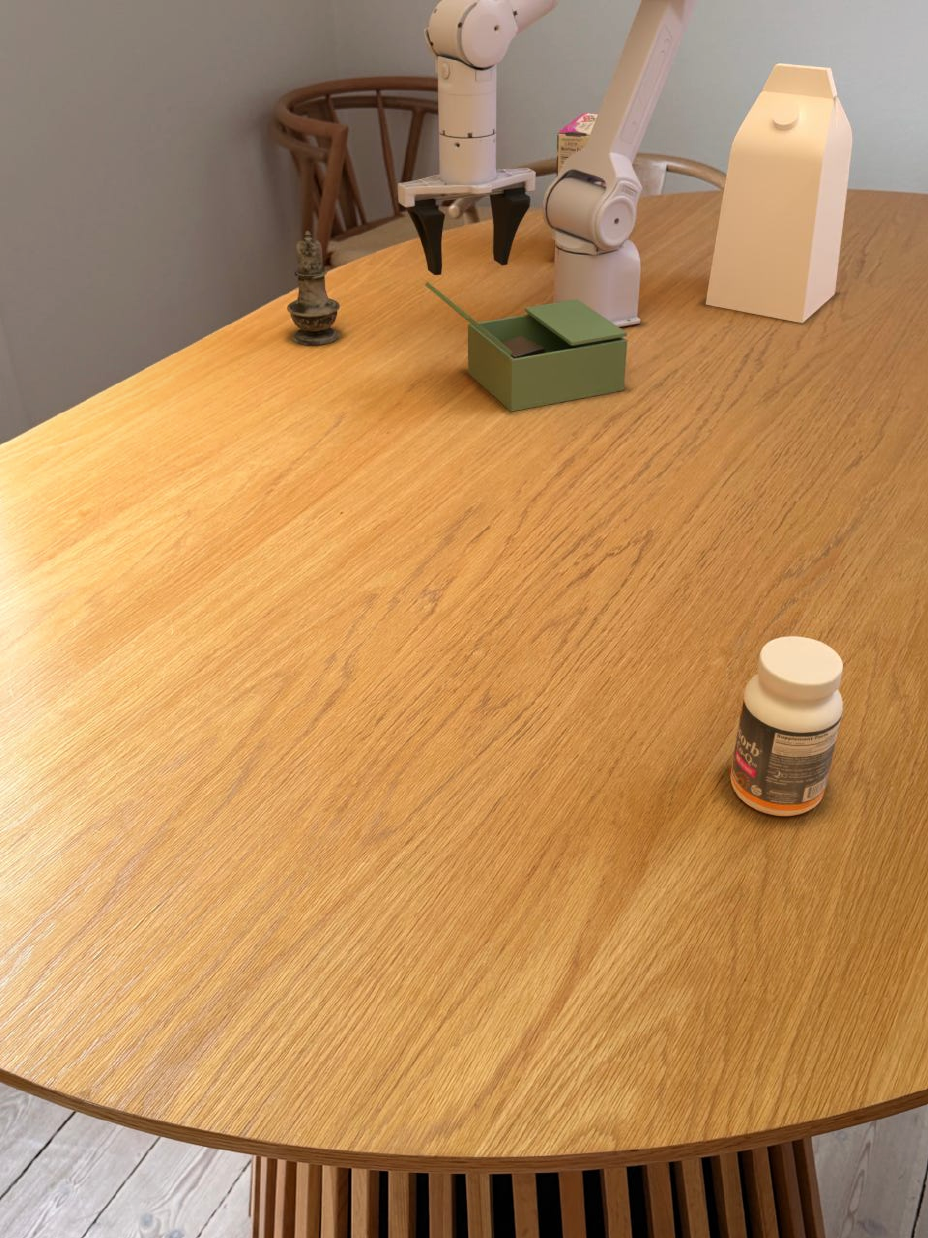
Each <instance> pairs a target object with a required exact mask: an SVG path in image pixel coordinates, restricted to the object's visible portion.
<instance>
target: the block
mask: <svg viewBox="0 0 928 1238" xmlns="http://www.w3.org/2000/svg"><path fill="white" fill-rule="evenodd" d="M501 343H502V344H503V345H505V346H506V347H507V348H508V349H509V350H510V351H512V354H511V355H510V356H511V357H513V358H514V359H515V358H521V357H526V356H532V355H538V354H543V353H545V347H543V346H540V345H538V344H536V343H534V342H532V341H530V340H528V339H526V338H524V337H521V336H520V337H516V338H513V339H509V340H506V341H502V342H501Z"/></svg>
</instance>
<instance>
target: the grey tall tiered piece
mask: <svg viewBox="0 0 928 1238" xmlns="http://www.w3.org/2000/svg"><path fill="white" fill-rule="evenodd" d="M304 235H305V237H304V238H302V239H300V240H299V241H298V242H297V243H296V245H295V254H296V266H297V268H296V270H295V271H294V276H295V277H296V278H297V285H298V287H297V289H298V295H297V299H295V300H293V301H291V302H290V303H288V305H287V307H286V310H287V312H288V313H289V315H290V318H291V320H292V322H293V324H294V325H295V326H296V327H297V328H298V330H296V331H295V332H294V333H293V334H292V337H291V339H292V340H293V342H295V343H296V344H299V345H301V346H309V347H310V346H313V347H315V346H323V345H328V344H331V343H332V344H333V343H334V342H336V341H337V340H338V339H339V338H340V333H339V332H338V331H337V330H336V329H333V328H332V326H333V324H335V322H336V320H337V317H338V310H339V309H340V308H341V307H340V306H341V305H340V303H339V302H338V301H337V300H335V299H333V298H330V297H329V296H328V293H327V290H326V278H325V277H326V275H327V274H328V271H327V269H325V268H324V260H323V249H322V248H323V247H322V244H321V241H319V240H317V239H316V238H313V237H311V235H312V233H311V232H310V231H309V230H306V231H305V233H304Z"/></svg>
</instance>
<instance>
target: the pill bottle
mask: <svg viewBox="0 0 928 1238" xmlns="http://www.w3.org/2000/svg"><path fill="white" fill-rule="evenodd" d="M843 670H844V663H843V660H842V658H841V656H840V655H839V653H837V651H836V650H835V649H834V648H832V647H831V646H829V645H827V644H825V643H824V642H822V641H819V640H817V639H813V638H809V637H805V636H798V635H797V636H795V635H793V636H792V635H790V636H789V635H788V636H781V637H777V638H774V639H771V640H769V641H768V642H767V643H765V644H764V645H763V646H762V647H761V650H760V651H759V655H758V660H757V666H756V674H755V675H753V677H752V678H750V679H749V681H748V682H747V684H746V685H745V687H744V691H743V697H742V702H741V707H740V713H739V721H738V726H737V727H738V728H737V732H736V739H735V745H734V751H733V757H732V762H731V767H730V784H731V786H732V788H733V791H734V792H735V794H736V795H737V797H738V798H739V799H740V800H741V801H742V802H743V803H745V804H746V805H747V806H749V807H750V808H752V809H754V810H756V811H757V812H761V813H763V814H767V815H771V816H776V817H792V816H798V815H802V814H805V813H807V812H809V811H812V809H814V808H815V807H816V806H817V805H819V803H820V802H821V801H822V799H823V797H824V794H825V791H826V787H827V783H828V778H829V775H830V770H831V765H832V761H833V757H834V752H835V748H836V743H837V739H838V734H839V730H840V725H841V721H842V718H843V717H842V716H843V712H844V702H843V696H842V694H841V692H840V690H839V688H840V686H841V681H842V675H843V672H844V671H843Z"/></svg>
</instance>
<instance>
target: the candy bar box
mask: <svg viewBox="0 0 928 1238" xmlns="http://www.w3.org/2000/svg"><path fill="white" fill-rule="evenodd" d="M597 115H598V113H592V112H585V113H584V112H583V113H580V114H579V115H578V116H576V117H575V118H574V119H573V120H572V121H570V122H569V123H568V124H566V125H565V126H564V127H563V128H561V129H559V131H557V133H556V135H557V136H556V137H557V138H556V140H557V141H556V175H555V176H556V177H557V176H558V175H559V173H560V171H561V169H562V166H563V164H564V161H565V160H566V159H567V158H569V157H570V156H572V155H573V154H575V153H576V152H578V151H580V150H581V149H582V148H584V147H585V146H586V144H587V141H588V139H589V136H590V134H591V131H592V128H593V126H594V123H595V121H596V118H597ZM556 177H555V178H556ZM595 184H599V185H602V186H605V187H606V183H603V182H596V183H595Z"/></svg>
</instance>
